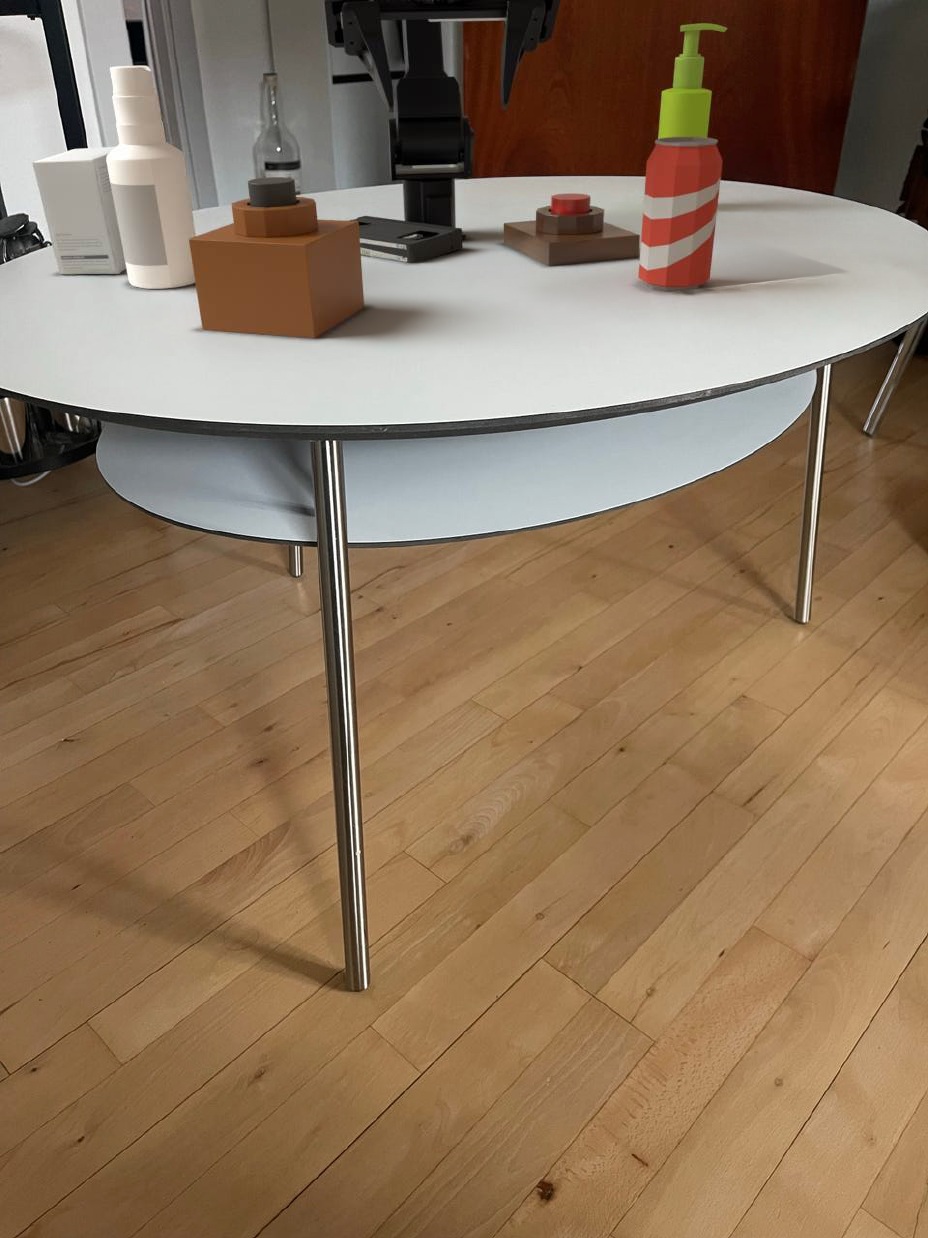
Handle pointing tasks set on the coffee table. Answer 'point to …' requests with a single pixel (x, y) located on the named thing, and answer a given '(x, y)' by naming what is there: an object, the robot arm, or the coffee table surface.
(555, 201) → the red button
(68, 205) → the cosmetics box
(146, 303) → the coffee table surface
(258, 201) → the dark grey button
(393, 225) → the vhs tape
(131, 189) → the spray bottle
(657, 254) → the beverage can
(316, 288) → the brown push button box
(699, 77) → the soap dispenser
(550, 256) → the switch box
